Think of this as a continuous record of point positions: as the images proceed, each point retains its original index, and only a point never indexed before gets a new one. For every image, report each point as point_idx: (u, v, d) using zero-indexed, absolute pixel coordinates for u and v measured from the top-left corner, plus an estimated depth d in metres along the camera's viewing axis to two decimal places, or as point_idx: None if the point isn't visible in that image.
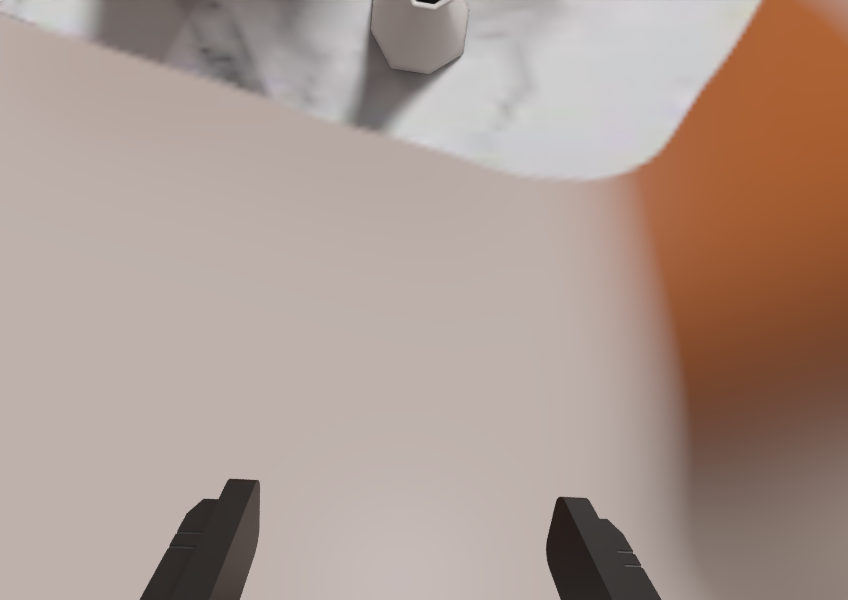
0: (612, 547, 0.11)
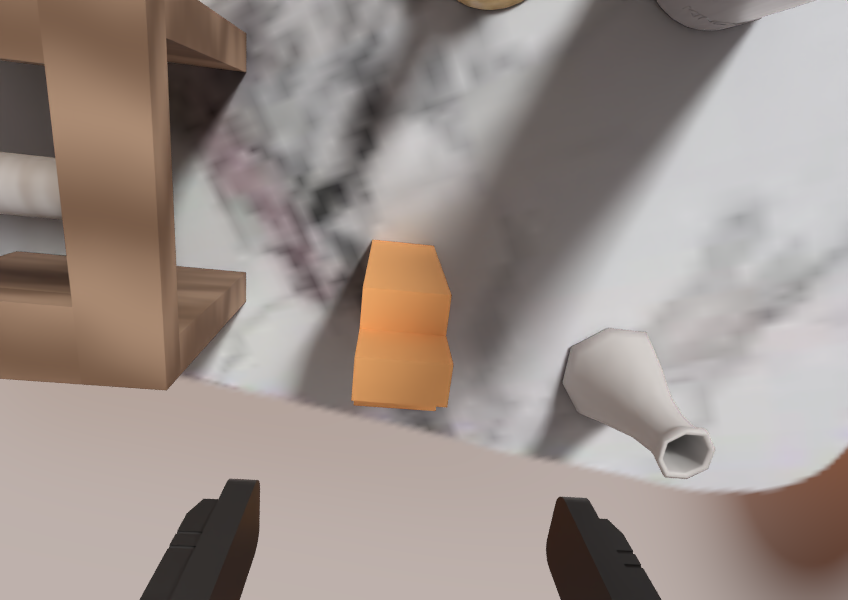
0: (612, 547, 0.11)
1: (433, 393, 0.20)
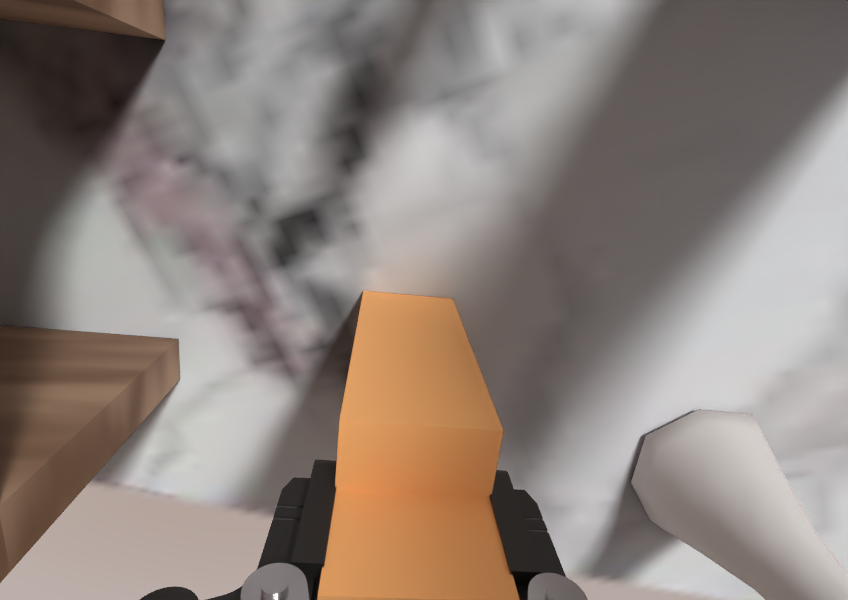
0: (519, 513, 0.12)
1: None
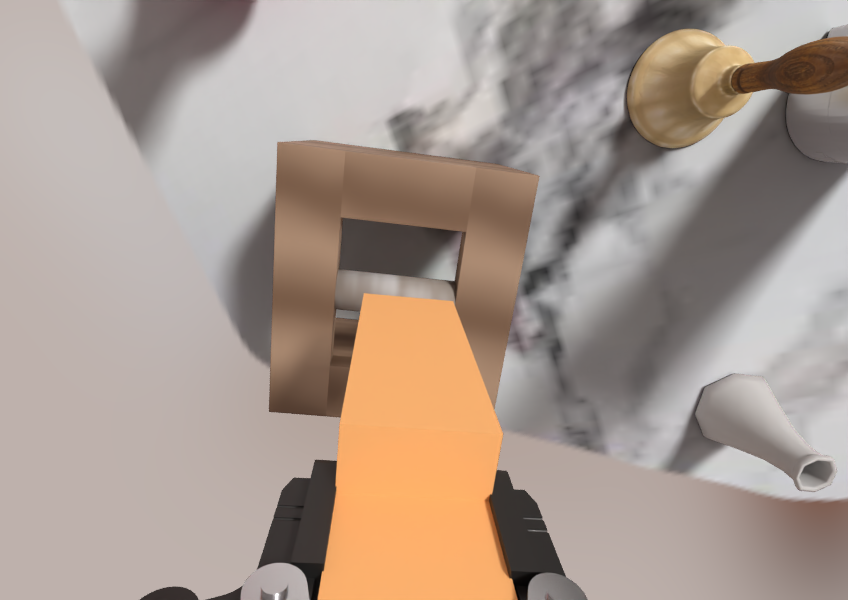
0: (519, 513, 0.12)
1: None
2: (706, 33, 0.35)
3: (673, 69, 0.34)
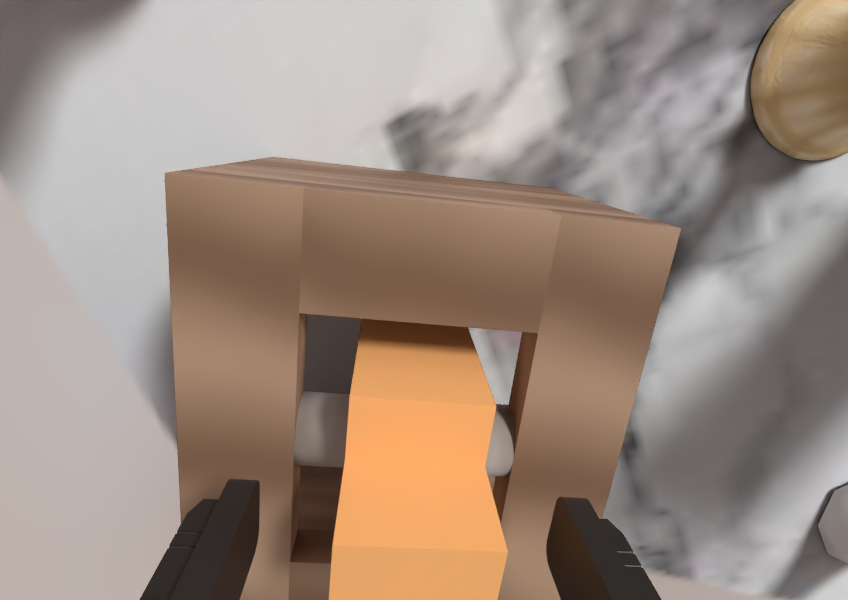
0: (612, 547, 0.11)
1: (471, 595, 0.12)
2: None
3: (843, 37, 0.21)
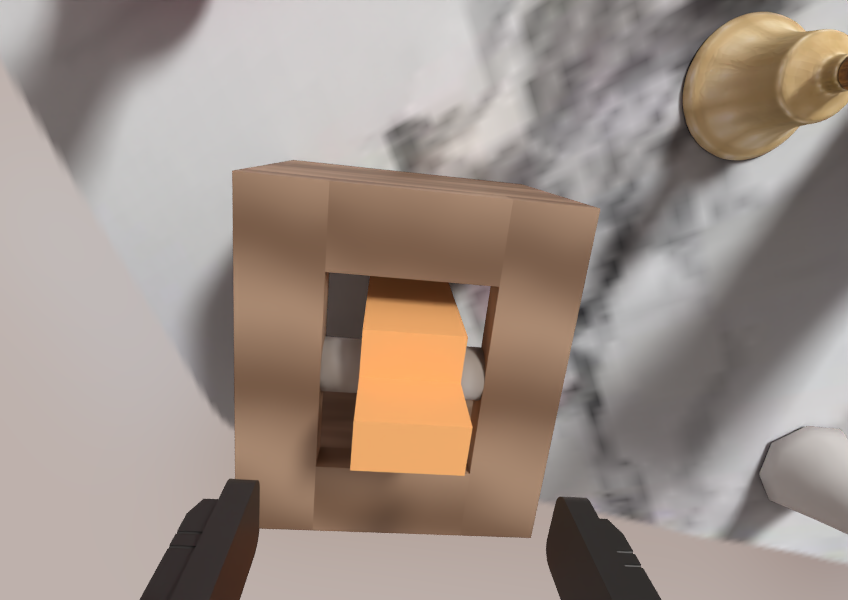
0: (612, 547, 0.11)
1: (448, 460, 0.17)
2: (783, 17, 0.28)
3: (748, 62, 0.27)
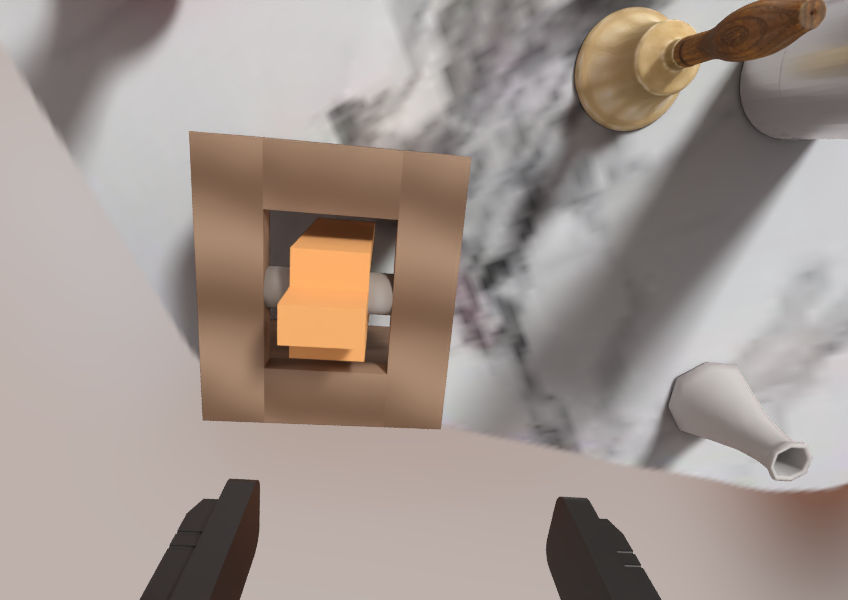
0: (612, 547, 0.11)
1: (350, 337, 0.23)
2: (652, 10, 0.34)
3: (618, 48, 0.33)
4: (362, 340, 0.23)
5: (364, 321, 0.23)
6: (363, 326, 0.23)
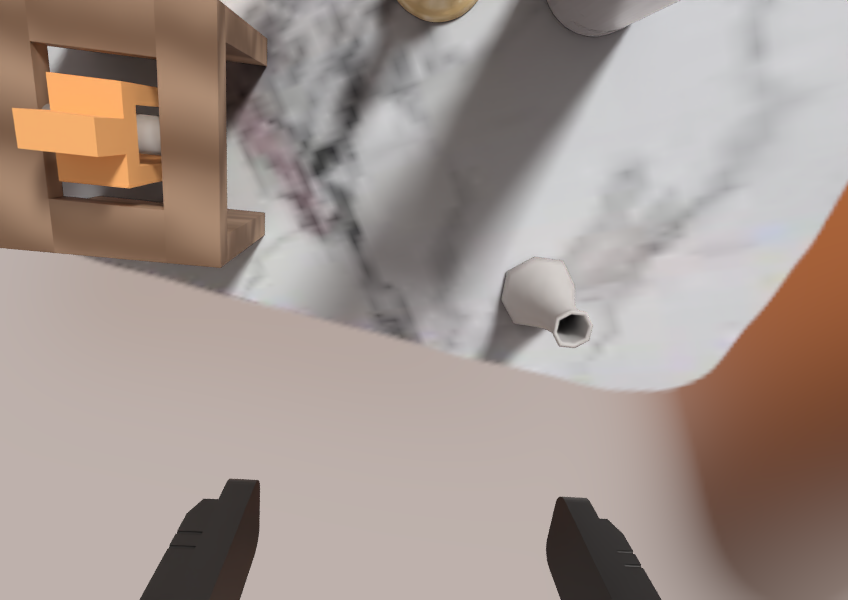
0: (612, 547, 0.11)
1: (83, 143, 0.26)
2: None
3: None
4: (95, 147, 0.26)
5: (94, 129, 0.26)
6: (93, 133, 0.26)
